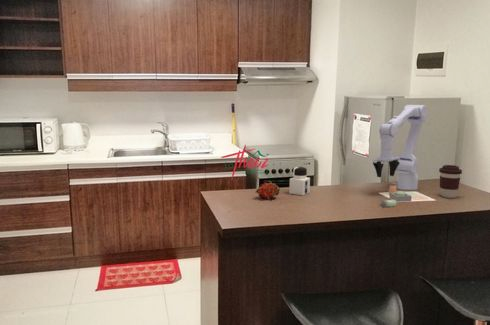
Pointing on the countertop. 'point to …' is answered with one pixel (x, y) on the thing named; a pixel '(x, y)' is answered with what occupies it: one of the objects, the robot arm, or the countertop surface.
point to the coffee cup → (449, 180)
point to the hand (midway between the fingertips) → (385, 176)
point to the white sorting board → (408, 197)
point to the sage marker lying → (388, 203)
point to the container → (299, 182)
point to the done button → (400, 193)
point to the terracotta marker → (392, 187)
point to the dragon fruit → (268, 190)
